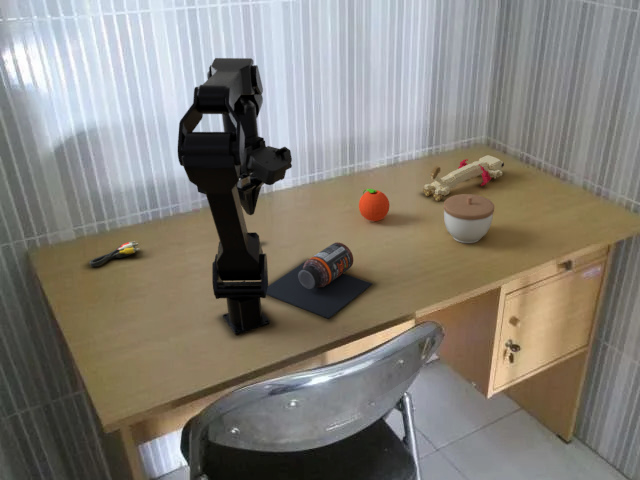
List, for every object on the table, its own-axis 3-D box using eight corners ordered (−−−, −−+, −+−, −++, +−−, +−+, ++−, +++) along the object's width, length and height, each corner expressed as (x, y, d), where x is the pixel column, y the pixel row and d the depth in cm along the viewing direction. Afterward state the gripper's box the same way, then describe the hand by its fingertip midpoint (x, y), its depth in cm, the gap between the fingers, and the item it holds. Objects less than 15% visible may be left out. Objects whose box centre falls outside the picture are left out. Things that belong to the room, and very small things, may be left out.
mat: (307, 261, 138) (307, 260, 138) (372, 284, 131) (372, 283, 131) (260, 292, 128) (260, 291, 128) (328, 319, 121) (328, 317, 121)
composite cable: (92, 269, 134) (89, 258, 132) (86, 258, 137) (83, 247, 136) (142, 256, 138) (140, 245, 137) (136, 246, 142) (133, 235, 140)
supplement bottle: (355, 272, 134) (319, 298, 126) (331, 264, 137) (295, 289, 129) (354, 245, 131) (317, 271, 123) (329, 237, 133) (292, 262, 125)
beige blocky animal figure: (445, 209, 162) (514, 175, 175) (445, 176, 157) (516, 143, 170) (417, 196, 168) (485, 163, 181) (416, 163, 163) (486, 132, 176)
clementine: (350, 216, 155) (349, 187, 151) (375, 208, 159) (374, 180, 155) (370, 229, 150) (370, 200, 146) (395, 221, 154) (396, 192, 150)
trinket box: (433, 241, 146) (435, 201, 141) (454, 221, 154) (456, 183, 149) (480, 253, 142) (483, 212, 137) (498, 232, 150) (502, 193, 145)
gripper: (238, 159, 108) (248, 246, 116) (311, 127, 121) (315, 206, 129) (188, 145, 112) (201, 229, 121) (263, 115, 126) (271, 192, 134)
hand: (250, 214), depth 126 cm, fingers closed
